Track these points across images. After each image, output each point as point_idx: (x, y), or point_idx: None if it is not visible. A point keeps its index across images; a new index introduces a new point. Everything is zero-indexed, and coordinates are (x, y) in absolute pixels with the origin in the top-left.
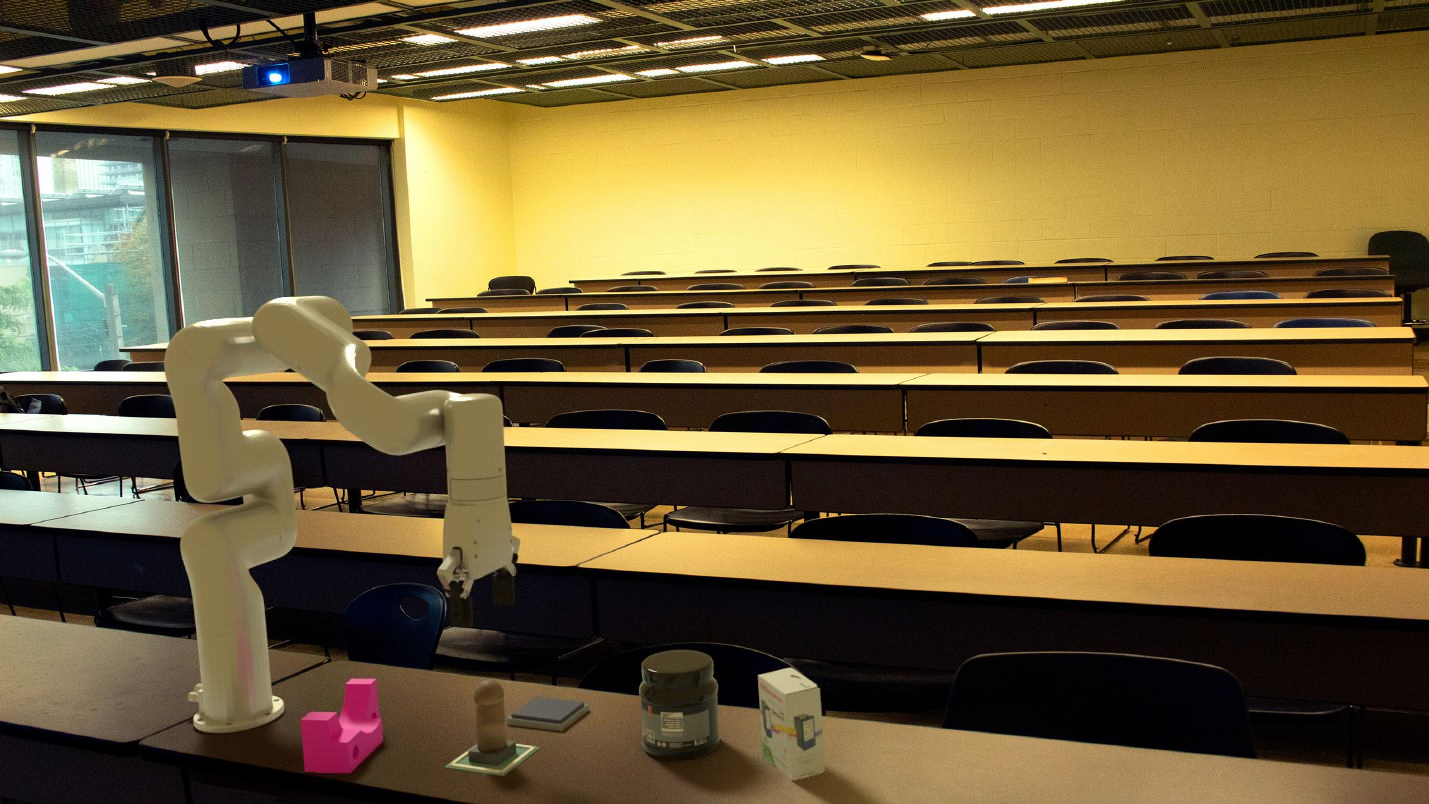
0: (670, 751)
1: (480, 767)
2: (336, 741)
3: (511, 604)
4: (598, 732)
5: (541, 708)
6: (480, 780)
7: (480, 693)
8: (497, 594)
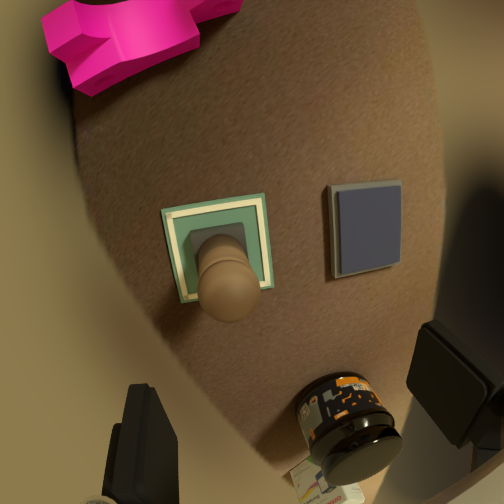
0: (297, 419)
1: (180, 263)
2: (70, 69)
3: (407, 386)
4: (343, 313)
5: (368, 222)
6: (160, 280)
7: (201, 301)
8: (437, 363)
